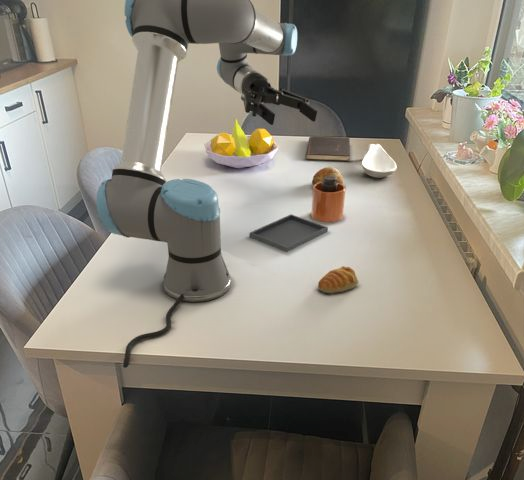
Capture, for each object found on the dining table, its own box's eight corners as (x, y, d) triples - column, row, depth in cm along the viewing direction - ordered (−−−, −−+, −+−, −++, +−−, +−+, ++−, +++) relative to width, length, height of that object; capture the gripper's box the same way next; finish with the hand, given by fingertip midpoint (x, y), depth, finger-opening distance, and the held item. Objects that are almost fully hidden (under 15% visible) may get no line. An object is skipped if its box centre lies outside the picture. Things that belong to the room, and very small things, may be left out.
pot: (329, 226, 152) (332, 195, 147) (304, 217, 157) (306, 187, 152) (348, 217, 158) (351, 186, 152) (323, 209, 162) (326, 179, 157)
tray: (286, 253, 139) (286, 247, 138) (249, 238, 146) (249, 232, 145) (327, 233, 149) (327, 227, 148) (290, 219, 156) (290, 214, 155)
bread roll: (342, 201, 177) (353, 178, 173) (317, 192, 171) (329, 167, 168) (328, 191, 184) (339, 168, 181) (304, 181, 179) (315, 158, 175)
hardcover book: (349, 143, 216) (349, 137, 215) (349, 161, 198) (349, 155, 197) (309, 142, 218) (309, 136, 217) (305, 159, 200) (305, 153, 198)
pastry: (330, 299, 121) (332, 284, 119) (310, 287, 125) (311, 272, 123) (360, 286, 126) (361, 271, 123) (339, 275, 130) (340, 260, 127)
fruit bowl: (273, 176, 186) (273, 141, 179) (196, 171, 189) (193, 137, 182) (283, 151, 208) (284, 120, 201) (214, 148, 211) (212, 117, 204)
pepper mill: (328, 219, 154) (331, 181, 148) (316, 215, 157) (318, 177, 150) (337, 215, 157) (341, 177, 151) (325, 211, 159) (328, 174, 153)
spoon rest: (398, 181, 182) (401, 159, 178) (363, 181, 182) (365, 159, 177) (384, 159, 201) (387, 139, 196) (353, 159, 201) (355, 139, 196)
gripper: (286, 97, 161) (328, 128, 150) (212, 101, 149) (251, 135, 138) (291, 71, 156) (335, 101, 145) (215, 72, 144) (256, 105, 133)
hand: (294, 118), depth 141 cm, fingers open, 13 cm apart
